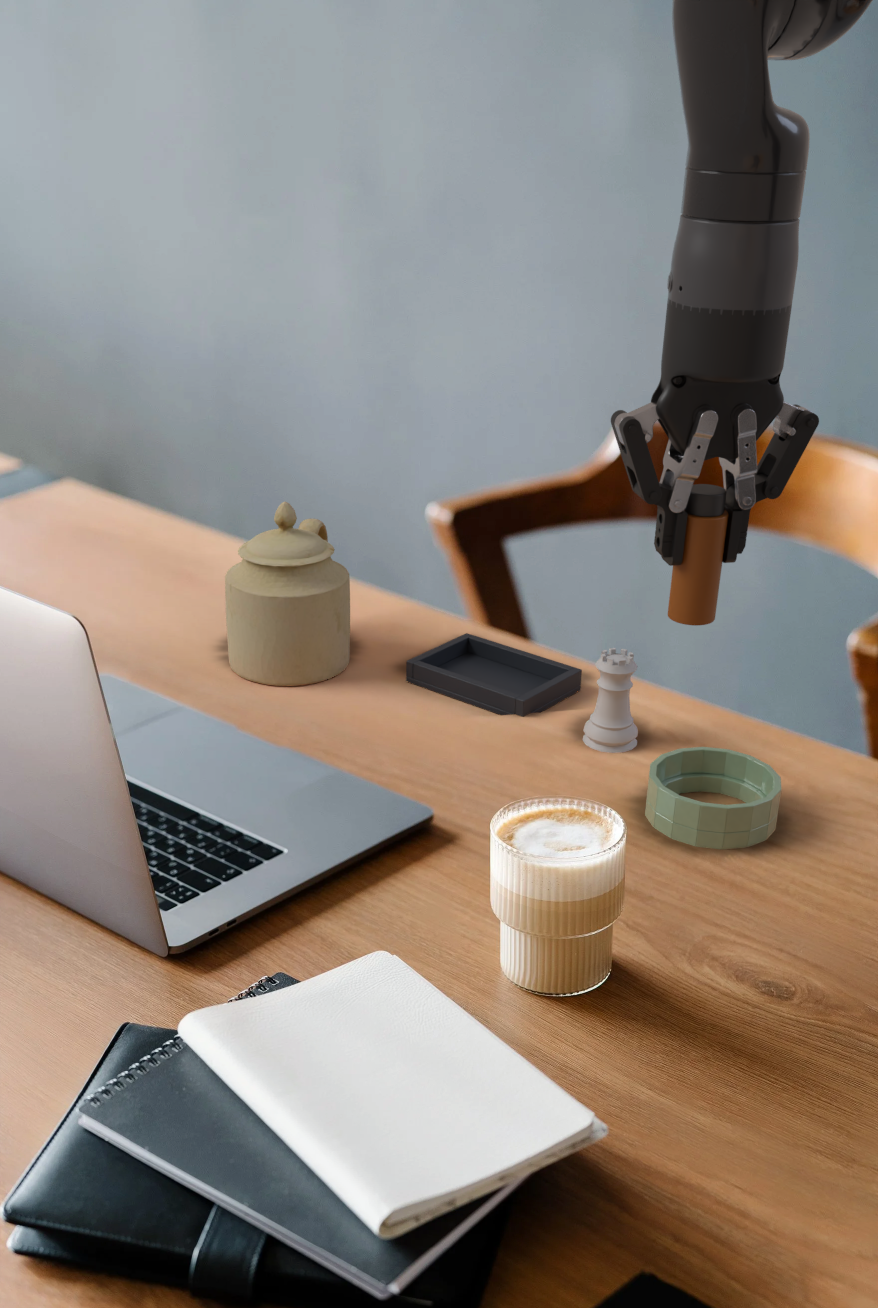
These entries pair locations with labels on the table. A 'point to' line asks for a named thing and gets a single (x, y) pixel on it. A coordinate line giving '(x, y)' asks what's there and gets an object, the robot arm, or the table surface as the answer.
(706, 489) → the bottle
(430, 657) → the tray
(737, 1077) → the table surface
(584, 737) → the rook chess piece
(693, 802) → the green hollow ring
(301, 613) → the sugar bowl
